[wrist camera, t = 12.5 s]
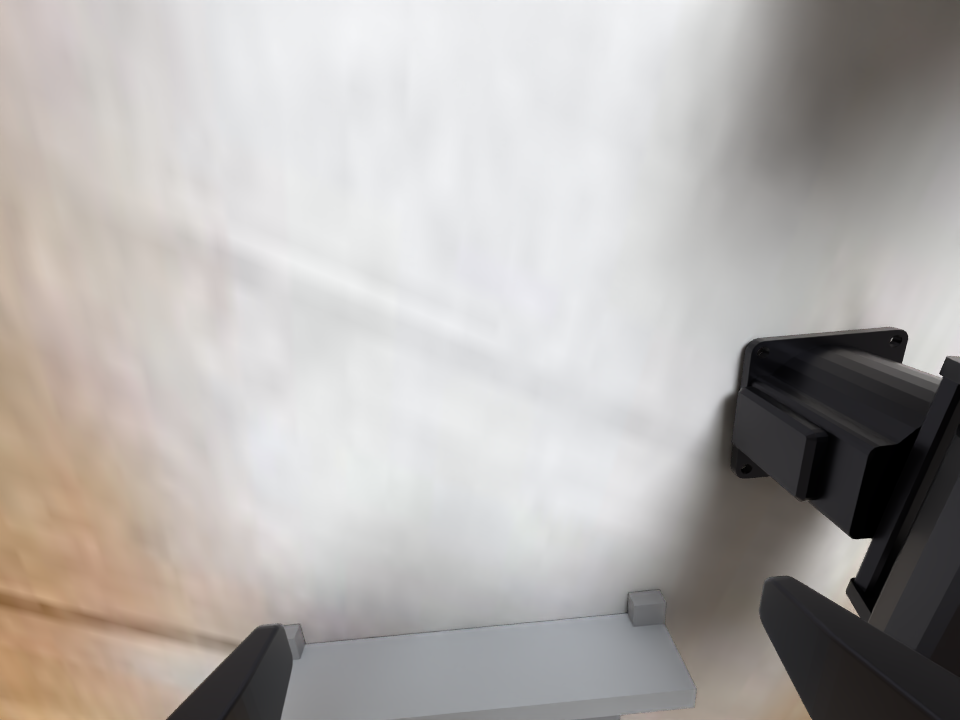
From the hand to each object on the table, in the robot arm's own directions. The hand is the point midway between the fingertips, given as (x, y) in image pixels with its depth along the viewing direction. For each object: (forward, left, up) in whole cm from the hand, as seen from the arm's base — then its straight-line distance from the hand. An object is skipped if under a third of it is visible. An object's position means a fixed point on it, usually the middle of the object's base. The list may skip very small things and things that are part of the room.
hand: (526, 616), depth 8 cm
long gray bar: (+2, +14, -11) cm, 18 cm away
